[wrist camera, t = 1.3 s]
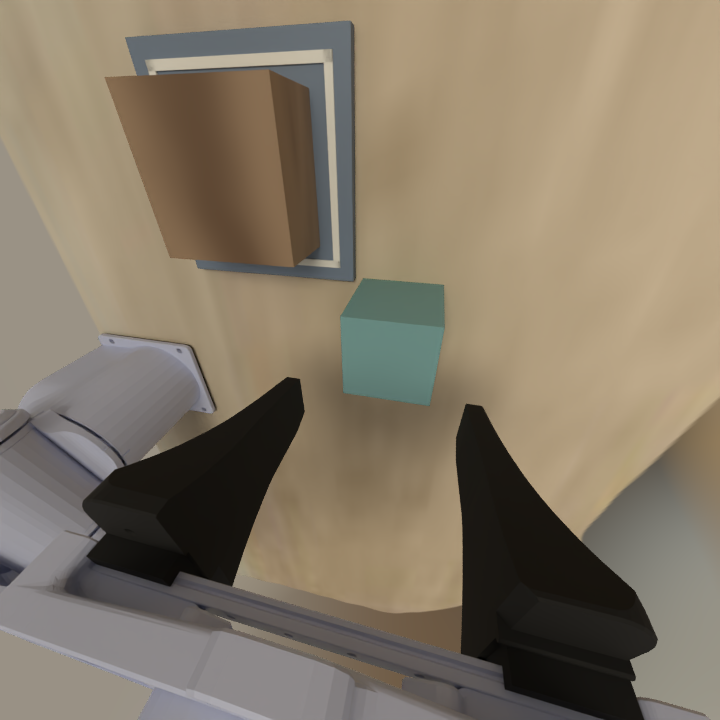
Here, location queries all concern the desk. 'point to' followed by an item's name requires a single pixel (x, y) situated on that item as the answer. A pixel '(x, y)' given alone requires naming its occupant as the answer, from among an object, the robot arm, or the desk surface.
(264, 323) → the desk surface
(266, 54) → the mat
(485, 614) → the robot arm
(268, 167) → the walnut base block
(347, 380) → the teal block
